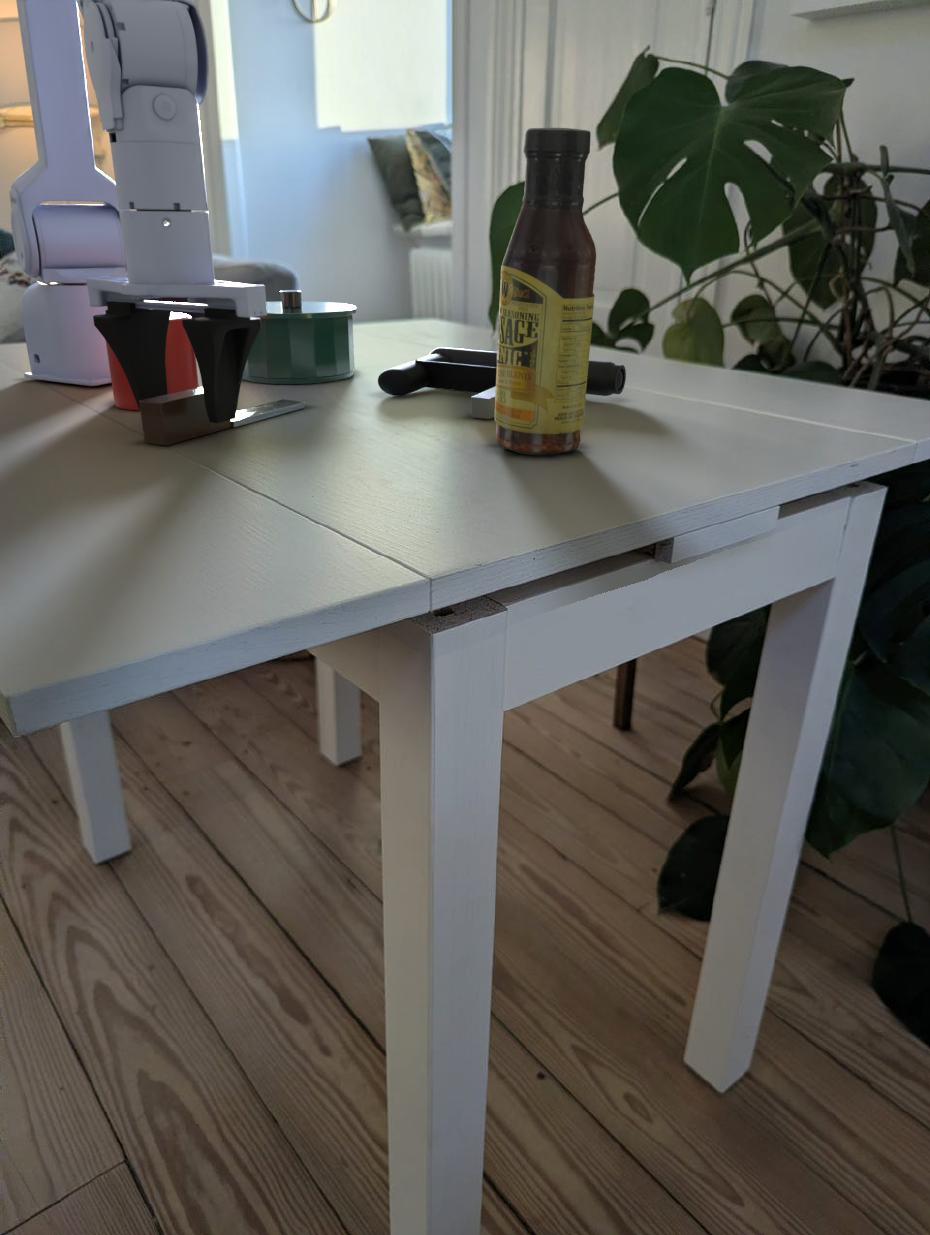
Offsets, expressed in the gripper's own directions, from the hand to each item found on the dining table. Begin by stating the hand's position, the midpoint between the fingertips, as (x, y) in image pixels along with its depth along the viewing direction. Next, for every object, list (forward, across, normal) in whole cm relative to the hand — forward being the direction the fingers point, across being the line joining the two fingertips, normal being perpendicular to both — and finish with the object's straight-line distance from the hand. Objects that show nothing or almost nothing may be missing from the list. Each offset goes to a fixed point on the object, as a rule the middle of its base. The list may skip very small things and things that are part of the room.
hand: (187, 415), depth 66 cm
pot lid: (-5, -10, +26) cm, 28 cm away
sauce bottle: (+2, +24, +9) cm, 26 cm away
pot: (+1, -10, +26) cm, 28 cm away
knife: (+1, 0, +5) cm, 5 cm away
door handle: (+2, +13, +24) cm, 27 cm away
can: (+1, -11, +8) cm, 14 cm away
